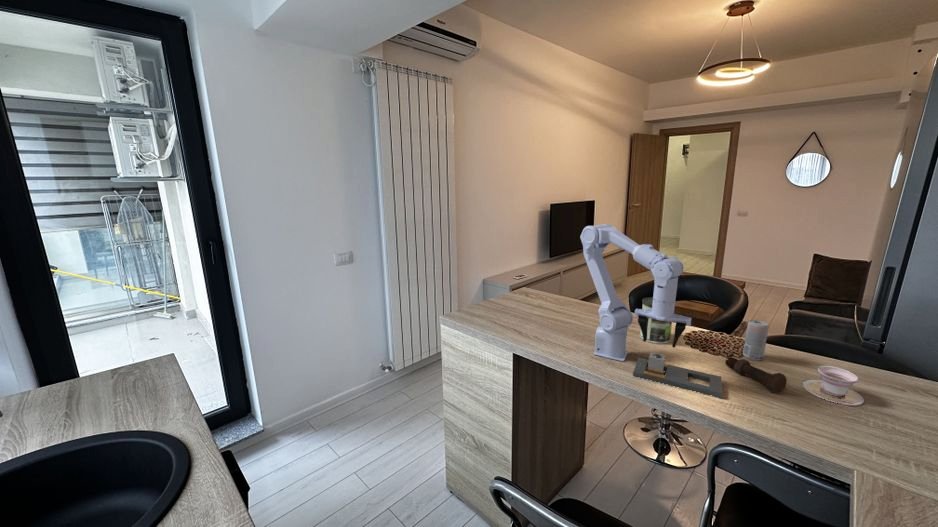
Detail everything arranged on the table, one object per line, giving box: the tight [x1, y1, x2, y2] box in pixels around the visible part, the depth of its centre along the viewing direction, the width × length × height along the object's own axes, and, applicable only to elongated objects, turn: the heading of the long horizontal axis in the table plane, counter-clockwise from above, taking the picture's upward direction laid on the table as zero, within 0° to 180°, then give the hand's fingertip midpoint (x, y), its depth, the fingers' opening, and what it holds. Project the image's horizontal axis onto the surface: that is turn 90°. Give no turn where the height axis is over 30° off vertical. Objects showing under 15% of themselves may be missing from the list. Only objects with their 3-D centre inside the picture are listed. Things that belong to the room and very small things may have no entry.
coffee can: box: [639, 296, 673, 345], centre depth 135 cm, size 10×10×14 cm
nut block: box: [647, 351, 666, 375], centre depth 111 cm, size 4×4×6 cm
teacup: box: [802, 365, 865, 407], centre depth 100 cm, size 12×12×6 cm
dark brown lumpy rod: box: [724, 356, 788, 394], centre depth 108 cm, size 6×5×15 cm
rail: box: [632, 357, 723, 399], centre depth 109 cm, size 22×10×2 cm, turn 57°
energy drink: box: [742, 319, 770, 362], centre depth 120 cm, size 5×5×12 cm
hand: (659, 343), depth 110 cm, fingers open, 7 cm apart
